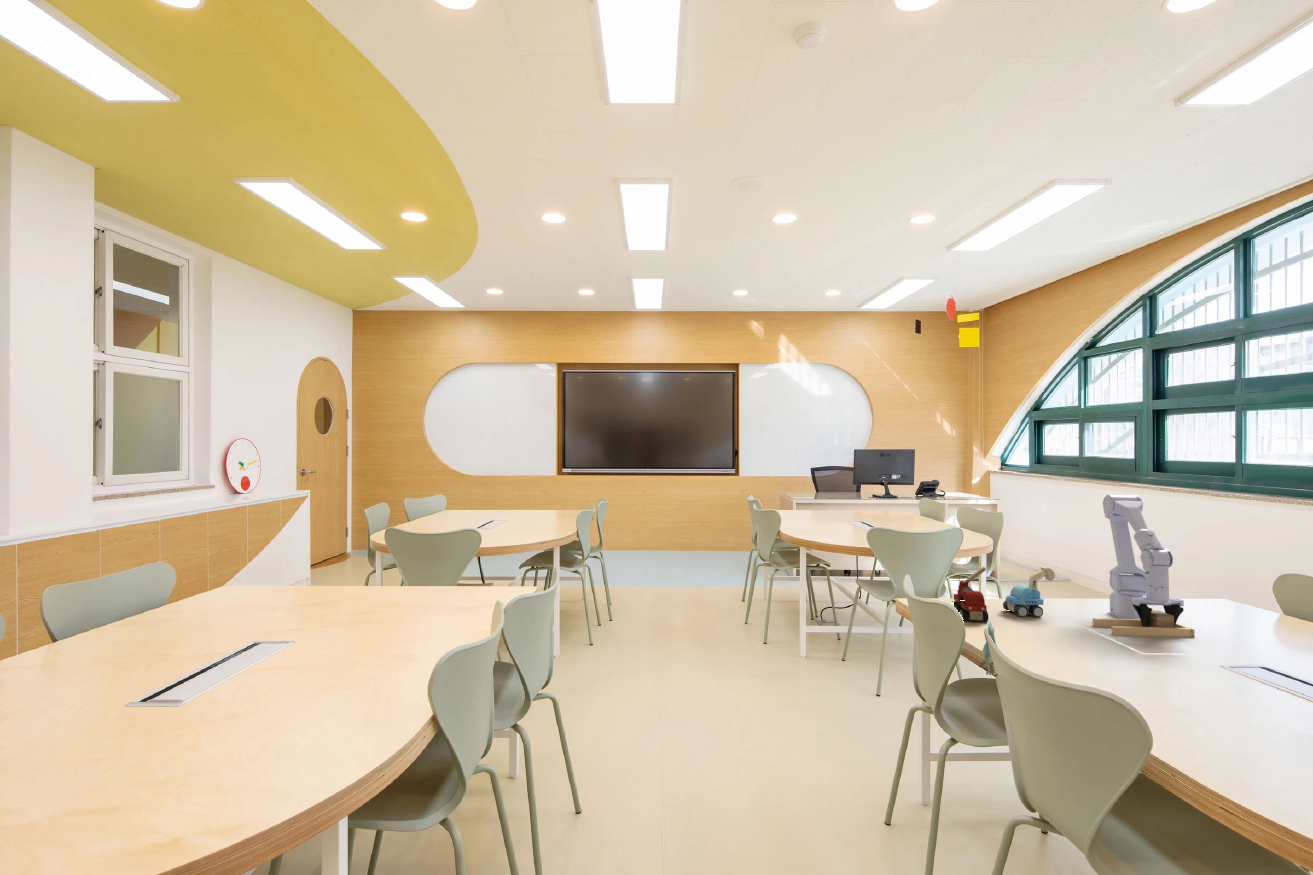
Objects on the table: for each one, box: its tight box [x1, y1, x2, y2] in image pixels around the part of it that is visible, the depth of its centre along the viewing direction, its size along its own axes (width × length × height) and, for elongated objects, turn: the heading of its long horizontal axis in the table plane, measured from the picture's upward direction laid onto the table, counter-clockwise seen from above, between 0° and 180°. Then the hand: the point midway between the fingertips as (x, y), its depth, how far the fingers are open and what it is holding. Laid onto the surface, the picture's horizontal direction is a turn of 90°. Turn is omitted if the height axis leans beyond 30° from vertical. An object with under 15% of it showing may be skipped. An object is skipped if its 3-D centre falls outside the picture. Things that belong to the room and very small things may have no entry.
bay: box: [1092, 617, 1195, 638], centre depth 180 cm, size 10×24×3 cm, turn 85°
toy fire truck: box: [952, 566, 990, 622], centre depth 198 cm, size 11×16×18 cm
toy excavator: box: [1002, 566, 1056, 618], centre depth 201 cm, size 9×17×17 cm, turn 89°
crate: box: [1150, 609, 1174, 628], centre depth 180 cm, size 6×5×6 cm
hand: (1158, 627), depth 179 cm, fingers open, 7 cm apart
